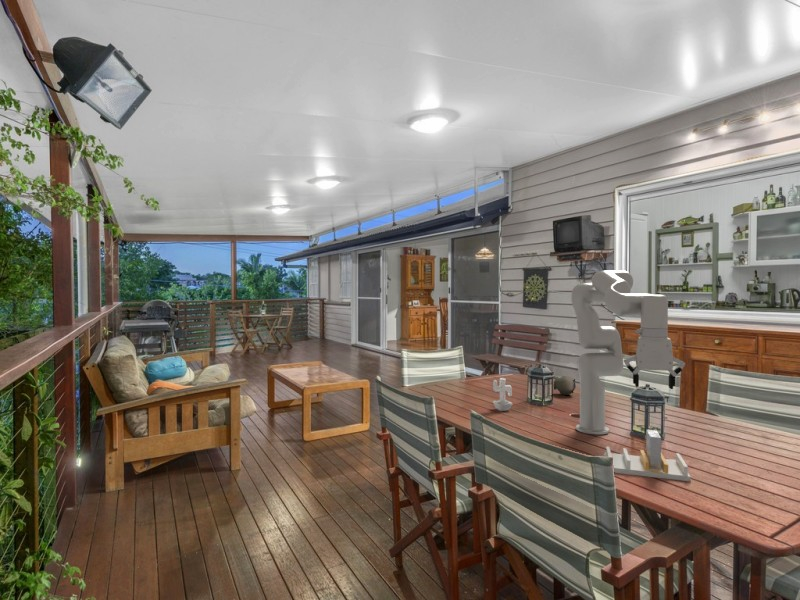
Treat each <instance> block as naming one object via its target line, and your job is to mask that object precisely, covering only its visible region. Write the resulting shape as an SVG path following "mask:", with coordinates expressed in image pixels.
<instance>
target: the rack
mask: <svg viewBox="0 0 800 600" xmlns="http://www.w3.org/2000/svg"><path fill="white" fill-rule="evenodd" d="M663 454H664V453H662V451H661V470H658V469H650V467H649V461H648V459H647V457H646V453H645V450H644V449H639V455H632V454H629V453H628V449H627V447H626V448H625V447H623V448H622V454H621V453H614V452H613V453H612V451H611V447H610V446H605V452H604V454H603V455H604V456H608V457H613V465H614V472H615V473H614V474H621V475H622V474H624V475H630V476H639V477H647V478H656V479H657V478H659V479H664V480H666V479H667V480H676V481H684V482H691V478H692V477H691V475H690V473H689V466H688V464H687V463H686V462H685V460H684V458H683V457H682V455H681V453H677V452H676V453H675V459H672V458H671V459H670V458H665V456H664V455H663ZM604 456H603V457H604Z"/></svg>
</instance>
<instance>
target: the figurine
mask: <svg viewBox="0 0 800 600" xmlns="http://www.w3.org/2000/svg"><path fill="white" fill-rule="evenodd" d="M506 380H507V379H506V378H504V377H499V383H498V381H497V379H494V380H493V381H492V390H493V391H494V392H495V393H498V392H499V399H498V400H492V403H493V405H494V407H495V409H496V410H498V411H500V412H504V411H505V412H507V411H510V409H511V408H512V406H513V405H514V403H513V402H511V401H509V400H507V399H506V392H507V396H508V397H512V395H513V388H512V386H511V384H506ZM498 384H499V385H498Z"/></svg>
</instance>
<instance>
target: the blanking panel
mask: <svg viewBox="0 0 800 600" xmlns="http://www.w3.org/2000/svg"><path fill="white" fill-rule="evenodd" d="M645 435H646V441H645V443H646V445H645V446H646V447H645V449H646V450H645V451H646V453H645V454H646V457H647V459H648V461H649V467H650V469H658V470H661V452H662V437H661V435H660V434H659V432H658V430H657V429H655V430H654V429H646V431H645Z"/></svg>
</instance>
